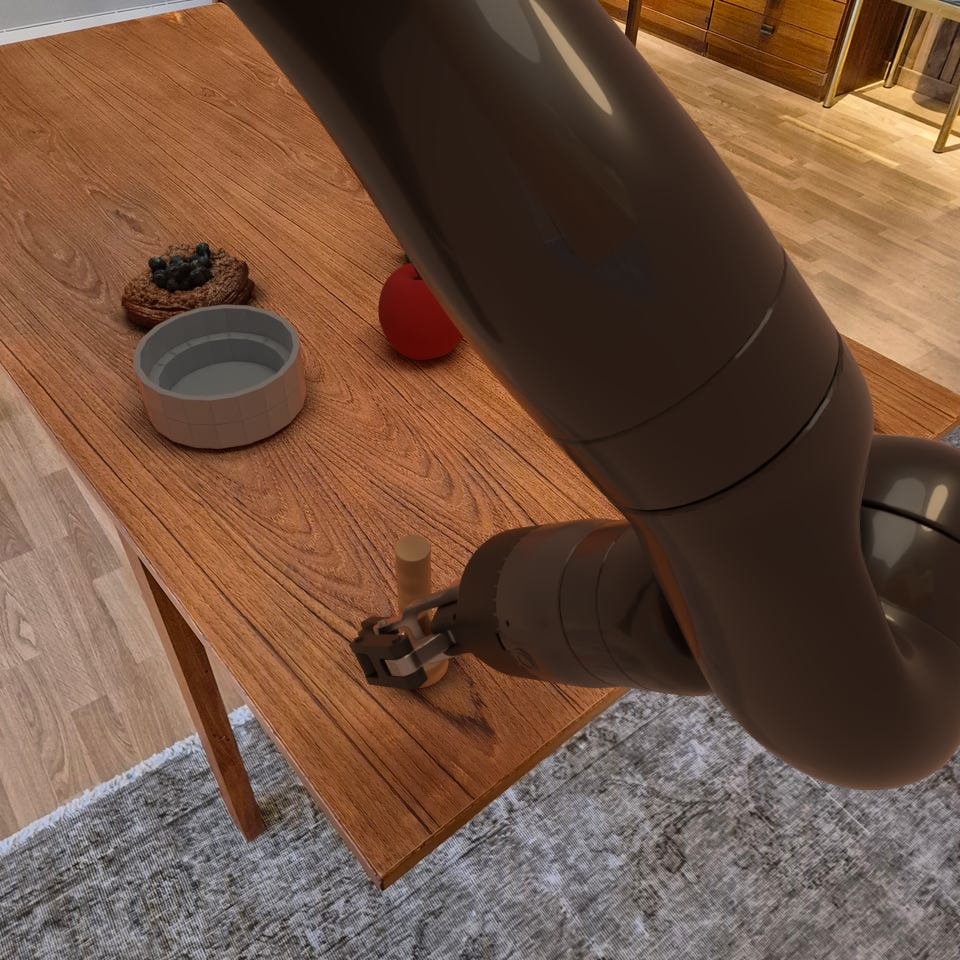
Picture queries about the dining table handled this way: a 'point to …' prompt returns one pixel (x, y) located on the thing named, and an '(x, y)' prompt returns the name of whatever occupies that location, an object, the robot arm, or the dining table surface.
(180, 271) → the pastry
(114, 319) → the dining table surface
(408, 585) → the peg on round base
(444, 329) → the apple
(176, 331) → the bowl
